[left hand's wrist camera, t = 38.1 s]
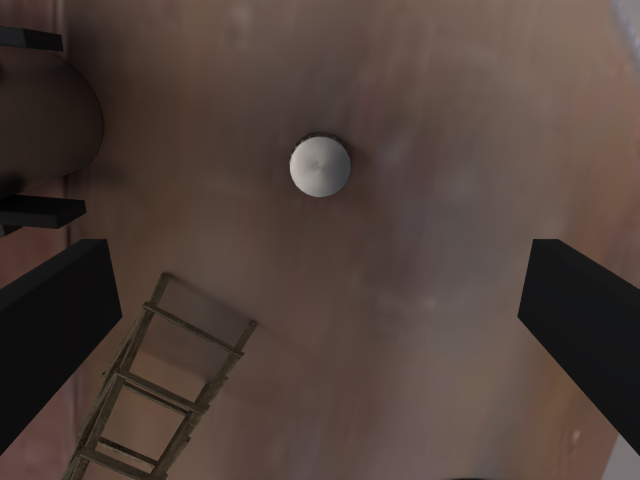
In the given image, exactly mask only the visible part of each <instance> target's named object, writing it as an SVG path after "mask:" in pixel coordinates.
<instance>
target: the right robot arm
mask: <svg viewBox="0 0 640 480" xmlns="http://www.w3.org/2000/svg"><path fill="white" fill-rule="evenodd" d="M0 45H1V46H11V47H22V48H32V49H42V50H52V51H62V52H63V45H62V38H61V35H58V34H52V33H46V32H41V31H35V30H29V29H23V28H13V27H3V26H0ZM85 213H86V207H85V201H84V200H73V199H61V198H49V197H38V196H26V195H12V196H9V197H7V198H4V199H1V200H0V237H3V236H6V235H8V234H10V233H12V232H14V231H16V230H18V229H20V228H22V227H23V226H28V227H40V228H52V229H59V228H61V227H62V226H64V225H66V224H68V223H69V222H71V221H73V220H75V219H76V218H78V217H80V216H81V215H83V214H85Z"/></svg>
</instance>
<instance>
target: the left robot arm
mask: <svg viewBox="0 0 640 480" xmlns="http://www.w3.org/2000/svg"><path fill="white" fill-rule="evenodd" d="M121 318H122V312H121V307H120V302H119V297H118V292H117V287H116V282H115V277H114V272H113V268H112V263H111V258H110V253H109V248H108V243H107V239H81V240H80V241H78V242H76V243H75V244H73V245H72V246H70V247H68V248H67V249H65V250H63V251H62V252H60V253H59V254H57V255H55V256H54V257H52V258H51V259H49V260H47V261H46V262H44V263H42V264H41V265H39V266H38V267H36V268H34V269H33V270H31V271H29V272H28V273H26V274H25V275H23V276H21V277H20V278H18V279H17V280H15V281H13V282H12V283H10V284H8V285H7V286H5V287H4V288H2V289H0V456H1V455H2V454H3V452H4V451H5V450H6V449H7V448H8V447H9V446H10V444H11V443H12V442H13V441H14V440H15V439H16V438H17V437H18V435H19V434H20V433H21V432H22V431H23V430H24V429H25V427H26V426H27V425H28V424H29V423H30V422H31V421H32V419H33V418H34V417H35V416H36V415H37V414H38V413H39V411H40V410H41V409H42V408H43V407H44V406H45V405H46V403H47V402H48V401H49V400H50V399H51V398H52V397H53V396H54V394H55V393H56V392H57V391H58V390H59V389H60V388H61V386H62V385H63V384H64V383H65V382H66V381H67V380H68V378H69V377H70V376H71V375H72V374H73V373H74V372H75V370H76V369H77V368H78V367H79V366H80V365H81V364H82V362H83V361H84V360H85V359H86V358H87V357H88V356H89V355H90V353H91V352H92V351H93V350H94V349H95V348H96V347H97V345H98V344H99V343H100V342H101V341H102V340H103V339H104V337H105V336H106V335H107V334H108V333H109V332H110V331H111V329H112V328H113V327H114V326H115V325H116V324H117V323H118V321H119V320H120V319H121ZM518 318H519V319H520V320H521V321H522V323H523V324H524V325H525V326H526V327H527V328H528V329H529V331H530V332H531V333H532V334H533V335H534V336H535V337H536V339H537V340H538V341H539V342H540V343H541V344H542V345H543V347H544V348H545V349H546V350H547V351H548V352H549V353H550V355H551V356H552V357H553V358H554V359H555V360H556V361H557V362H558V364H559V365H560V366H561V367H562V368H563V369H564V370H565V372H566V373H567V374H568V375H569V376H570V377H571V378H572V380H573V381H574V382H575V383H576V384H577V385H578V386H579V388H580V389H581V390H582V391H583V392H584V393H585V394H586V396H587V397H588V398H589V399H590V400H591V401H592V402H593V403H594V405H595V406H596V407H597V408H598V409H599V410H600V411H601V413H602V414H603V415H604V416H605V417H606V418H607V419H608V421H609V422H610V423H611V424H612V425H613V426H614V427H615V429H616V430H617V431H618V432H619V433H620V434H621V435H622V437H623V438H624V439H625V440H626V441H627V442H628V443H629V444H630V446H631V447H632V448H633V449H634V450H635V451H636V452H637V454H638V455H639V456H640V289H638V288H636V287H635V286H633V285H632V284H630V283H628V282H627V281H625V280H623V279H622V278H620V277H619V276H617V275H615V274H614V273H612V272H611V271H609V270H607V269H606V268H604V267H602V266H601V265H599V264H598V263H596V262H594V261H593V260H591V259H589V258H588V257H586V256H585V255H583V254H581V253H580V252H578V251H577V250H575V249H573V248H572V247H570V246H568V245H567V244H565V243H564V242H562V241H560V240H559V239H533V243H532V248H531V253H530V258H529V263H528V268H527V272H526V277H525V282H524V287H523V292H522V297H521V302H520V307H519V312H518Z"/></svg>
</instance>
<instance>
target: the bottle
mask: <svg viewBox="0 0 640 480" xmlns="http://www.w3.org/2000/svg"><path fill="white" fill-rule="evenodd" d="M102 135H103V120H102V114H101V110H100V107H99V104H98V101H97V99H96V97H95V95H94V93H93V91H92V90H91V88H90V87H89V85H88V84H87V82H86V81H85V80H84V79H83V77H82V76H81V75H80V74H79V73H78V72H77V71H76V70H75V69H73V68H72V67H71V66H70V65H69V64H67V63H66V62H64V61H63V60H61V59H60V58H58V57H56V56H54V55H52V54H49V53H46V52H44V51H40V50H35V49H27V48H17V47H8V46H0V200H1V199H4V198H7V197H9V196H12V195H15V194H17V193H20V192H23V191H25V190H28V189H30V188H33V187H36V186H38V185H41V184H44V183H46V182H49V181H52V180H54V179H57V178H59V177H62V176H65V175H67V174H70V173H73V172H75V171H77V170H79V169H81V168H83V167H84V166H86V165H87V164H88V163H89V162H90V161H91V160H92V159H93V158H94V156H95V155H96V153H97V151H98V149H99V147H100V144H101V141H102Z"/></svg>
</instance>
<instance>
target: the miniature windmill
mask: <svg viewBox="0 0 640 480" xmlns="http://www.w3.org/2000/svg"><path fill="white" fill-rule="evenodd" d="M169 278H170V276H168V275H166V274H164V273H162V275H161V276H160V279H159V281H158V283H157V285H156V288H155V290H154V292H153V294H152V297H151V299H150V301H149V302H147V301H146V302H145V303H144V304H143V305H142V307H143V309H142V311H141V312H140V314H139V316H138V317H137V319H136V321H135V322H134V324H133V326H132V328H131V329H130V331H129V333H128V334H127V336H126V338H125V339H124V341H123V342H122V343H121V344H120V346H119V348H118V351H117V353H116V355H115V356H114V358H113V360H112V361H111V363H110V365H109V366H108V368H107V370H106V372H103V373H102V374H101V377H103V378H105V381H104V383H103V385H102V388H101V390H100V392H99V394H98V397H97V399H96V401H95V404H94V406H93V408H92V410H91V412H90V413H89V415H88V417H87V418H86V420H85V422H84V423H83V425H82V427H81V428H80V430H79V432H78V434H77V435H79V436H80V438H79V441H78V443H77V445H76V448H75V450H74V452H73V455H72V457H71V459H70V461H69V464H68V466H67V468H66V471H65V473H64V475H63V478H62V479H61V480H82V478H83V475H84V473H85V471H86V469H87V466H88V464H89V462H90V461H92V462H94V463H97V464H99V465H102V466H104V467H106V468H109V469H111V470H114V471H116V472H118V473H121V474H123V475H125V476H128V477H130V478H133V479H135V480H166V478H167V476H168V474H166V472H167V471H168V470H169V468H170V467H171V466H172V464H173V463H174V461H175V460H176V459H177V457H178V456H179V455H180V453H181V452H182V450H183V449H184V448H185V446H186V445H187V444H188V442H189V440H190V439H191V438H190V437H189V435H190V434H191V432H192V431H193V430H194V428H195V427H196V425H197V424H198V423H199V421H200V420H201V419H202V417H203V416H204V414H205V413H206V412H207V410H208V409H209V407H210V405H209V404H210V402H211V401H212V400H213V398H214V397H215V396H216V394H217V393H218V392H219V390H220V389H221V388H222V386H223V385H224V384H225V382H226V381H227V379H228V377H226V376H227V375H228V373H229V372H230V371H231V369H232V368H233V367H234V365H235V364H236V363H237V361H238V360H239V359H240V358H241V357H242V356H243V355H244V354H245V353H243V352H241V350H242V348H243V347H244V345H245V344H246V342H247V340H248V339H249V337H250V336H251V334H252V332H253V331H254V329H255V327H256V326H257V324H255V323H254V322H252V321H251V322H250V323H249V325H248V326H247V328H246V330H245V331H244V333H243V334H242V336H241V337H240V339H239V341H238V342H237V344H236V345H235V347H232V346H230V345H228V344H226V343H224V342H223V341H221V340H219V339H217V338H215V337H213V336H211V335H209V334H207V333H205V332H204V331H202V330H200V329H198V328H196V327H194V326H192V325H190V324H188V323H187V322H185V321H183V320H181V319H179V318H177V317H175V316H173V315H171V314H169V313H168V312H166V311H164V310H162V309H160V308H158V307H157V305H158V303H159V301H160V298H161V296H162V294H163V291H164V289H165V287H166V285H167V282H168V280H169ZM154 313H156V314H158V315H160V316H162V317H163V318H165V319H167V320H169V321H171V322H173V323H175V324H177V325H179V326H181V327H183V328H185V329H186V330H188V331H190V332H192V333H194V334H196V335H198V336H200V337H202V338H204V339H206V340H207V341H209V342H211V343H213V344H215V345H217V346H219V347H221V348H223V349H225V350H227V351H228V352H230V355H229V356H228V358H227V359H226V361H225V363H224V364H223V366H222V367H221V369H220V370H219V372H218V373H217V375H216V377H215V378H214V380H213V381H212V383H211V384H210V386H209V385H208V384H205V386H204V387H203V389H202V390H201V392H200V394H199V395H198V397H197V398H196V400H195V402H194V403H193V402H191V401H188V400H186V399H184V398H182V397H180V396H178V395H176V394H174V393H172V392H170V391H168V390H166V389H164V388H161V387H159V386H157V385H155V384H153V383H151V382H149V381H147V380H145V379H143V378H141V377H139V376H137V375H134V374H132V373H130V372H129V370H130V367H131V365H132V363H133V360H134V358H135V356H136V354H137V351H138V349H139V347H140V344H141V342H142V340H143V337H144V335H145V333H146V331H147V328H148V326H149V324H150V321H151V319H152V317H153V314H154ZM143 314H144V315H143ZM142 316H143V317H142ZM141 318H142V319H141ZM140 320H141V321H140ZM139 321H140V324H139V326H138V328H137V330H136V333H135V335H134V337H133V339H132V342H131V344H130V346H129V345H127V344H126V343H127V341H128V340H129V338H130V336H131V335H132V333H133V331H134V330H135V328H136V326H137V325H138V323H139ZM128 346H129V348H128ZM127 348H128V351H127V353H126V350H127ZM125 353H126V355H125ZM124 355H125V357H124ZM123 358H124V360H123ZM122 360H123V362H122ZM121 362H122V364H121ZM120 365H121V366H120ZM119 367H120V368H119ZM125 380H128V381H130V382H132V383H134V384H136V385H138V386H140V387H142V388H144V389H146V390H149V391H151V392H153V393H155V394H157V395H159V396H161V397H163V398H165V399H167V400H170V401H172V402H174V403H176V404H178V405H180V406H182V407H184V408H186V409H188V410H189V411H187V410H185V409H183V408H180V407H178V406H176V405H174V404H172V403H170V402H168V401H166V400H164V399H161V398H159V397H157V396H155V395H153V394H151V393H149V392H147V391H145V390H142V389H140V388H138V387H136V386H134V385H132V384H130V383H128V382H126V381H125ZM111 386H112V387H111ZM122 387H124V388H126V389H128V390H131V391H133V392H135V393H137V394H139V395H141V396H143V397H145V398H148V399H150V400H152V401H154V402H156V403H158V404H160V405H162V406H165V407H167V408H169V409H171V410H173V411H175V412H177V413H179V414H182V415H184V416H185V418H184V420H183V421H182V423H181V425H180V426H179V428H178V429H177V431H176V433H175V434H174V436H173V438H172V439H171V441H170V442H169V444H168V446H167V447H166V449H165V451H164V452H163V454H162V455H161V457H160V459H159V460H158V461H156V460H153V459H151V458H149V457H146V456H144V455H142V454H140V453H137V452H135V451H133V450H130V449H128V448H126V447H123V446H121V445H119V444H117V443H114V442H112V441H110V440H107V439H105V438H103V437H101V434H102V432H103V429H104V427H105V425H106V423H107V420H108V418H109V416H110V413H111V411H112V409H113V406H114V404H115V402H116V400H117V397H118V395H119V393H120V390H121V388H122ZM97 444H99V445H101V446H103V447H106V448H108V449H110V450H113V451H115V452H117V453H120V454H122V455H124V456H127V457H129V458H131V459H133V460H136V461H138V462H140V463H143V464H145V465H147V466H150V467H152V468H153V470H152V472H151V473H150V474H149V473H147V472H144V471H142V470H140V469H137V468H135V467H132V466H130V465H128V464H125V463H123V462H121V461H118V460H116V459H114V458H111V457H109V456H107V455H104V454H102V453H100V452H97V451H95V448H96V446H97Z"/></svg>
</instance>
